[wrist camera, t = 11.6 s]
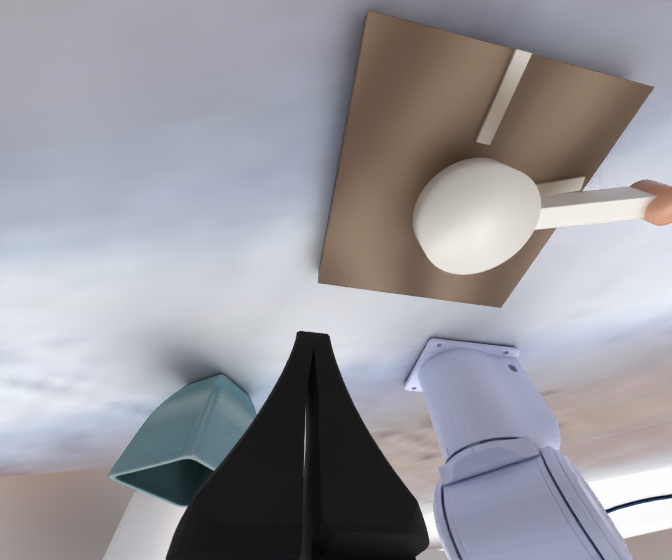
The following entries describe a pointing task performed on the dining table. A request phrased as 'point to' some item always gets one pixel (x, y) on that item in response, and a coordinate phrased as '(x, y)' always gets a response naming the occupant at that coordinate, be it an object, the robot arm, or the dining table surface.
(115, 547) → the mug
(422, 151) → the strip board
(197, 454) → the flower pot
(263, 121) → the dining table surface
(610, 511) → the plate
